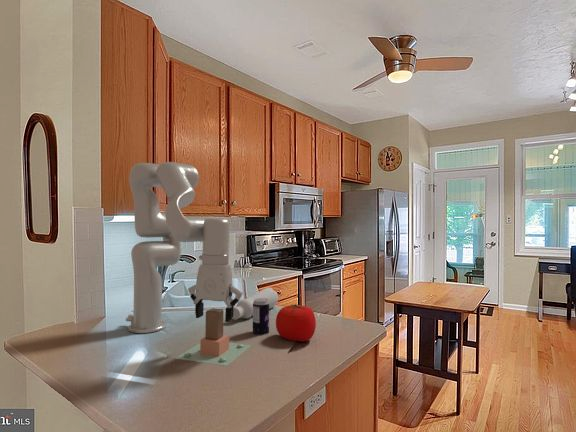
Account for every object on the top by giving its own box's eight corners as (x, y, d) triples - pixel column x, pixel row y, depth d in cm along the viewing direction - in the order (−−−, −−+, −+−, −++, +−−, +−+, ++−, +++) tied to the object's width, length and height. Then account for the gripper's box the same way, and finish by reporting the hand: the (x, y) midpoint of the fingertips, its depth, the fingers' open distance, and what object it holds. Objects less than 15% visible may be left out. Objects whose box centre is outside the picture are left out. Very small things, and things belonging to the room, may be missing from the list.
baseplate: (174, 362, 94) (174, 356, 94) (205, 342, 109) (205, 337, 109) (226, 369, 89) (226, 363, 89) (251, 348, 105) (251, 343, 105)
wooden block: (223, 336, 101) (224, 308, 101) (217, 340, 97) (217, 312, 97) (211, 334, 102) (211, 307, 102) (204, 339, 98) (205, 311, 98)
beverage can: (266, 338, 114) (266, 302, 115) (250, 336, 115) (250, 301, 116) (270, 332, 120) (271, 298, 120) (255, 331, 121) (255, 297, 121)
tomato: (321, 336, 116) (321, 302, 117) (306, 349, 104) (306, 311, 104) (287, 331, 122) (287, 298, 122) (269, 343, 109) (269, 306, 110)
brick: (200, 353, 97) (200, 339, 98) (211, 346, 103) (211, 333, 103) (219, 356, 96) (219, 342, 96) (229, 349, 101) (229, 335, 101)
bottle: (259, 297, 162) (221, 315, 134) (268, 282, 159) (232, 297, 132) (273, 310, 158) (237, 330, 131) (283, 295, 156) (248, 312, 129)
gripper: (182, 260, 99) (180, 319, 99) (236, 263, 94) (235, 325, 94) (196, 257, 106) (195, 312, 106) (247, 260, 101) (246, 318, 101)
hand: (214, 318), depth 100 cm, fingers open, 9 cm apart
